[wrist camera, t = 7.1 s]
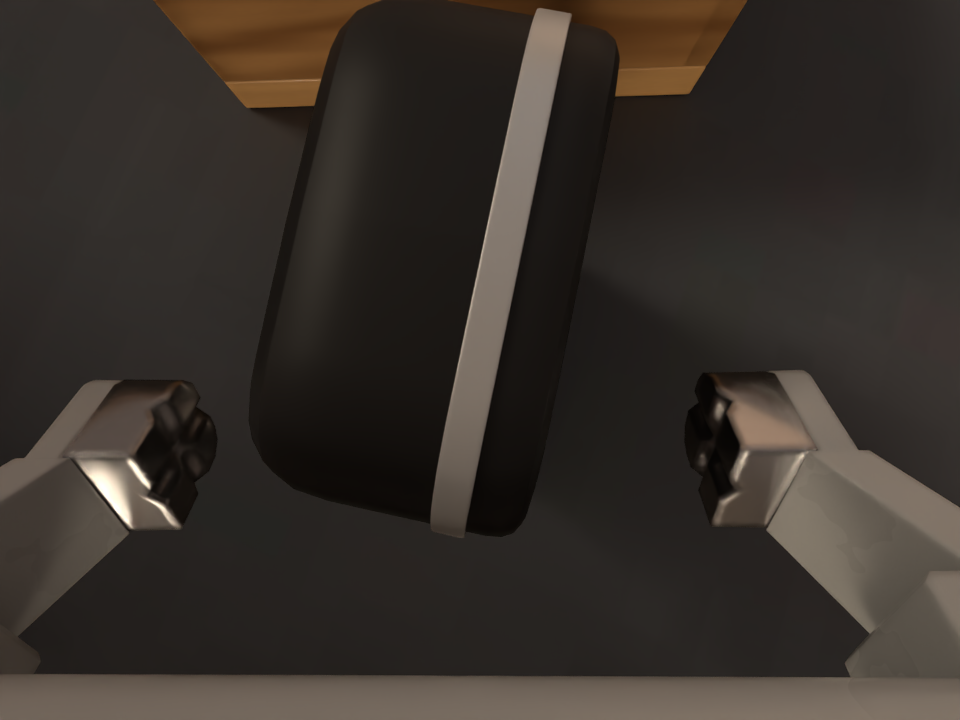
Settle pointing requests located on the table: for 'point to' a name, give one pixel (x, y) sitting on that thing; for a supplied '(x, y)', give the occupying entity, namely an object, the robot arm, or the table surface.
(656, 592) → the table surface
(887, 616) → the robot arm
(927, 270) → the table surface
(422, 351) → the battery charger
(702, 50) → the step shelf
